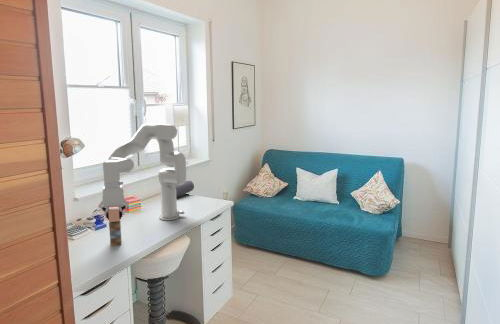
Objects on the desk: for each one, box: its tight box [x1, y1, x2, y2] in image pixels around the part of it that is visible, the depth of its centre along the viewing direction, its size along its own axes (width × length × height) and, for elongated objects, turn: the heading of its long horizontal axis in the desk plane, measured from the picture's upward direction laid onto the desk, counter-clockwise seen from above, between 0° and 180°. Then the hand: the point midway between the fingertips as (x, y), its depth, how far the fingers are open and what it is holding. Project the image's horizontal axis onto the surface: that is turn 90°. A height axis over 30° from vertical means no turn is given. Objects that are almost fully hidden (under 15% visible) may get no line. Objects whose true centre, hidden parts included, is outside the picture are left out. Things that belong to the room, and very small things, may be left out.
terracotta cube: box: [108, 206, 121, 223], centre depth 186 cm, size 5×5×6 cm
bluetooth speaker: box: [175, 180, 195, 198], centre depth 279 cm, size 23×9×10 cm, turn 149°
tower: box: [108, 220, 123, 247], centre depth 187 cm, size 5×5×12 cm
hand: (114, 218), depth 186 cm, fingers closed on terracotta cube, 4 cm apart
